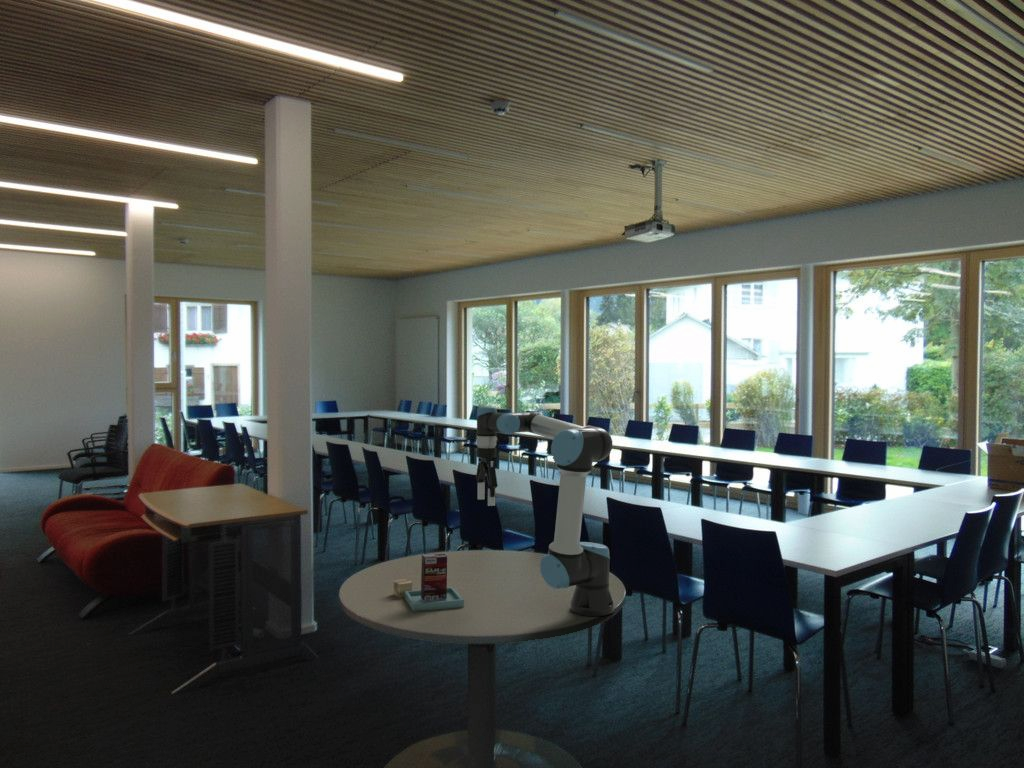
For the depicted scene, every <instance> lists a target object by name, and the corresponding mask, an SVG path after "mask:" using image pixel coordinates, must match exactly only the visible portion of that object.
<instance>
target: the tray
mask: <svg viewBox="0 0 1024 768" xmlns="http://www.w3.org/2000/svg"><path fill="white" fill-rule="evenodd" d="M404 599H405V601H406V602H407V604H408V605H409V607H410V609H411V610H412V612H413V613H415V612H424V611H426V612H427V611H436V610H445V609H456V608H464V607H465V600H464V598H463V596H461V594H460V593H459V592H458V591H457V590H456V589H455V588H454V587H453V586H449V587H448V586H447V600H443V601H431V602H423V600H422V599H421V589H416V590H415V589H414V590H413V589H412V591H405V597H404Z"/></svg>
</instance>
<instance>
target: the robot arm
mask: <svg viewBox="0 0 1024 768" xmlns="http://www.w3.org/2000/svg"><path fill="white" fill-rule="evenodd" d="M497 410H498V409H497V407H496V406H491V405H490V406H487V405H485V406H479V407H477V410H476V411H477V412H476V446H477V447H476V457H477V458H478V460H477V461H478V462H477V463H478V464H477V468H476V469H477V470H476V475H475V476H476V477H475V480H476V481H477V500H485V497H486V495H485V494H486V491H485V490H486V488H487V506H488V507H490V506H491V507H493V506H494V507H495V506H496V488H498V481H497V471H496V462H495V460H494V461H493V458H497V447H496V446H497V441H498V440H499V439H498V437H497V435H498V434H503V435H513V434H515V433H530V434H534V435H537V436H541V437H544V438H548V439H551V440H552V443H551V445H550V453H551V456H552V459H553V461H554V462H555V463H556V468H557V470H558V471H559V472H560V474H559V476H560V477H559V485H558V486H559V487H558V497H557V507H556V518H555V529H554V535H553V536H554V538H553V541H552V542H551V543H550V544H549V545H548V552H547V554H544V556H543V557H541V559H540V562H539V569H540V570H539V571H540V575H541V577H542V578H543V581H544V582H545V584H546V585H547V586H549V587H550V588H551V589H554V590H561V589H568V588H569V587H572V586H575V587H574V590H573V593H572V597H571V600H570V604H569V606H570V611H571V612H573V613H575V614H578V615H581V616H585V617H586V616H587V617H603V616H608V615H610V614H613V613H614V611H615V604H614V600H613V597H612V594H611V590H610V566H611V565H610V563H611V556H610V550H609V549H610V548H609V547H608V546H607V545H605V544H602V543H597V542H591V541H590V542H589V541H581V533H582V532H581V531H582V522H583V514H584V513H583V512H584V505H585V504H584V503H585V502H584V501H585V494H586V483H587V475H589V474H590V473H592V470H593V463H596V462H600V461H604V460H605V459H606V458H607V457H608V456H609V455H610V454H611V452H612V450H613V439H612V437H611V434H610V433H609V432H608V431H607V430H606V429H604V428H602V427H599V426H593V425H590V424H589V425H586V426H582V425H579V424H575V423H572V422H567V421H565V420H560V419H557V418H553V417H550V416H545V415H544V414H543V413H542V412H540V411H533V410H532V411H523V412H498V411H497ZM486 480H487V481H486ZM486 482H487V485H488V486H486V485H485V484H486ZM485 486H486V487H485Z"/></svg>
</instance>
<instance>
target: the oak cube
mask: <svg viewBox="0 0 1024 768" xmlns="http://www.w3.org/2000/svg"><path fill="white" fill-rule="evenodd" d="M405 591H413V582H412V581H410V580H408V579H407V578H404V579H398V580H393V595H394V596H396V597H397V598H399V599H401V598H405Z"/></svg>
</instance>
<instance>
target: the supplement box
mask: <svg viewBox="0 0 1024 768" xmlns="http://www.w3.org/2000/svg"><path fill="white" fill-rule="evenodd" d="M420 574H421V575H420V577H421V579H420V580H421V582H420V590H421V599H422V600H423V602H431V601H443V600H447V587H448V585H447V584H448V582H447V581H448V556H447V555H446V554H445V553H437V554H422V555H421V573H420Z"/></svg>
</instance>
